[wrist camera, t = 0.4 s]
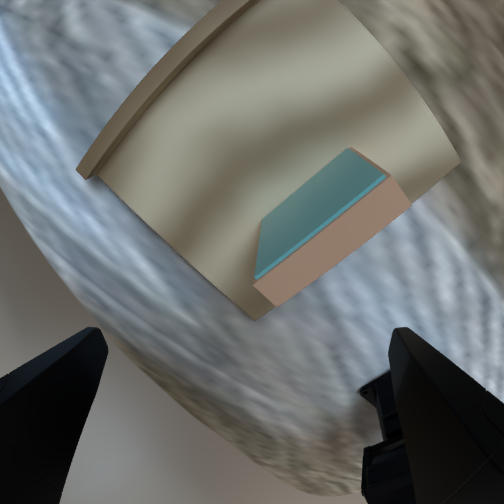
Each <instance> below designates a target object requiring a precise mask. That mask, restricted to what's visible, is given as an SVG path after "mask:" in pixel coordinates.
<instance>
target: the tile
mask: <svg viewBox="0 0 504 504" xmlns="http://www.w3.org/2000/svg"><path fill="white" fill-rule="evenodd" d="M410 206H412V204H411V203H410V201H409V200H408V198H407V197H406V195H405V194H404V192H403V191H402V189H401V188H400V186H399V185H398V184H397V182H396V181H395V179H394V178H393V176H392V175H391V174H389V173H388V172H387V171H385V170H384V169H382V168H381V167H380V166H378V165H377V164H375V163H374V162H373V161H371V160H370V159H368V158H367V157H365V156H364V155H362V154H361V153H360V152H358V151H357V150H355V149H354V148H352V147H350V148H346V149H345V150H344V151H343V152H342V153H340V154H339V155H338V156H337V157H336V158H334V159H333V160H332V161H331V162H330V163H328V164H327V165H326V166H325V167H324V168H322V169H321V170H320V171H319V172H318V173H316V174H315V175H314V176H313V177H312V178H310V179H309V180H308V181H307V182H306V183H304V184H303V185H302V186H301V187H300V188H298V189H297V190H296V191H295V192H294V193H293V194H291V195H290V196H289V197H288V198H287V199H285V200H284V201H283V202H282V203H281V204H280V205H278V206H277V207H276V208H275V209H274V210H272V211H271V212H270V213H269V214H268V215H267V216H265V217H264V218H263V219H262V222H261V228H260V236H259V243H258V250H257V258H256V265H255V272H254V279H253V286H254V287H255V288H256V289H257V290H259V291H260V292H261V293H262V294H263V295H264V296H265V297H266V298H267V299H268V300H269V301H271V302H272V303H273V304H274V305H275V306H276V307H278V306H280V305H281V304H282V303H284V302H285V301H287V300H288V299H289V298H291V297H292V296H294V295H295V294H296V293H298V292H299V291H301V290H302V289H303V288H305V287H306V286H308V285H309V284H310V283H312V282H313V281H314V280H316V279H317V278H319V277H320V276H321V275H323V274H324V273H325V272H327V271H328V270H329V269H331V268H332V267H333V266H335V265H336V264H338V263H339V262H340V261H342V260H343V259H344V258H345V257H347V256H348V255H349V254H351V253H352V252H353V251H355V250H356V249H357V248H359V247H360V246H361V245H363V244H364V243H365V242H366V241H368V240H369V239H370V238H372V237H373V236H374V235H375V234H377V233H378V232H379V231H381V230H382V229H383V228H384V227H386V226H387V225H388V224H389V223H391V222H392V221H393V220H394V219H396V218H397V217H398V216H399V215H401V214H402V213H403V212H404V211H406V210H407V209H408V208H409V207H410Z"/></svg>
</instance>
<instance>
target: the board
mask: <svg viewBox="0 0 504 504" xmlns="http://www.w3.org/2000/svg"><path fill="white" fill-rule="evenodd" d="M350 147H352V148H354V149H355V150H357V151H358V152H360V153H361V154H362V155H364V156H365V157H367V158H368V159H370V160H371V161H373V162H374V163H375V164H377V165H378V166H380V167H381V168H382V169H384V170H385V171H387V172H388V173H389V174H391V175H392V176H393V178H394V179H395V181H396V182H397V184H398V185H399V186H400V188H401V189H402V191H403V192H404V194H405V195H406V197H407V198H408V200H409V201H410V203H411V204H412V203H413V202H414V201H415V200H417V199H418V198H419V197H420V196H422V195H423V194H424V193H425V192H426V191H428V190H429V189H430V188H431V187H432V186H433V185H435V184H436V183H437V182H438V181H439V180H441V179H442V178H443V177H444V176H445V175H446V174H448V173H449V172H450V171H451V170H452V169H453V168H454V167H456V166H457V165H458V164H459V163H460V162H461V160H460V158H459V157H458V155H457V153H456V151H455V150H454V148H453V146H452V144H451V143H450V141H449V139H448V138H447V136H446V134H445V133H444V131H443V129H442V128H441V126H440V125H439V123H438V121H437V120H436V118H435V117H434V115H433V114H432V112H431V111H430V109H429V108H428V106H427V105H426V103H425V102H424V100H423V99H422V98H421V96H420V95H419V93H418V92H417V90H416V89H415V88H414V86H413V85H412V84H411V82H410V81H409V80H408V78H407V77H406V76H405V74H404V73H403V72H402V70H401V69H400V68H399V67H398V65H397V64H396V63H395V62H394V60H393V59H392V58H391V57H390V56H389V54H388V53H387V52H386V51H385V50H384V48H383V47H382V46H381V45H380V44H379V43H378V41H377V40H376V39H375V38H374V37H373V36H372V35H371V34H370V32H369V31H368V30H367V29H366V28H365V27H364V26H363V25H362V24H361V23H360V22H359V21H358V20H357V19H356V18H355V17H354V16H353V15H352V14H351V13H350V12H349V11H348V10H347V9H346V8H345V7H344V6H343V5H342V4H341V3H340V2H339V1H338V0H222V1H221V2H220V3H219V4H218V5H216V6H215V7H214V8H213V9H212V10H211V11H210V12H208V13H207V14H206V15H205V16H204V17H203V18H202V19H201V20H200V21H199V22H197V23H196V24H195V25H194V26H193V27H192V28H191V29H190V30H189V31H188V32H187V33H186V34H185V35H184V36H183V37H182V38H181V39H180V40H179V41H178V42H177V43H176V44H175V45H174V46H173V47H172V48H171V49H170V50H169V51H168V52H167V53H166V54H165V55H164V56H163V57H162V58H161V59H160V60H159V62H158V63H157V64H156V65H155V66H154V67H153V68H152V69H151V70H150V71H149V73H148V74H147V75H146V76H145V77H144V78H143V79H142V81H141V82H140V83H139V84H138V85H137V86H136V88H135V89H134V90H133V91H132V92H131V94H130V95H129V96H128V97H127V99H126V100H125V101H124V102H123V104H122V105H121V106H120V107H119V109H118V110H117V111H116V112H115V114H114V115H113V116H112V118H111V119H110V120H109V122H108V123H107V124H106V126H105V127H104V128H103V130H102V131H101V133H100V134H99V135H98V137H97V138H96V140H95V141H94V142H93V144H92V145H91V147H90V148H89V150H88V151H87V153H86V154H85V156H84V157H83V159H82V160H81V162H80V163H79V165H78V166H77V168H76V169H75V170H76V171H77V172H78V173H79V174H80V175H81V176H82V177H83V178H84V179H85V180H86V179H88V178H90V177H92V176H94V175H96V174H97V175H98V176H99V177H100V178H101V179H102V180H103V181H104V182H105V183H106V184H107V185H108V186H109V187H110V188H111V189H112V190H113V191H114V192H115V193H116V194H117V195H118V196H119V197H120V198H121V199H122V200H123V201H124V202H125V203H126V204H127V205H128V206H129V207H130V208H131V209H132V210H133V211H134V212H135V213H136V214H137V215H138V216H140V217H141V218H142V219H143V220H144V221H145V222H146V223H147V224H148V225H149V226H150V227H151V228H152V229H153V230H154V231H155V232H156V233H157V234H159V235H160V236H161V237H162V238H163V239H164V240H165V241H166V242H167V243H168V244H169V245H170V246H171V247H172V248H174V249H175V250H176V251H177V252H178V253H179V254H180V255H181V256H182V257H183V258H184V259H186V260H187V261H188V262H189V263H190V264H191V265H192V266H193V267H194V268H195V269H197V270H198V271H199V272H200V273H201V274H202V275H203V276H204V277H205V278H207V279H208V280H209V281H210V282H211V283H212V284H213V285H214V286H216V287H217V288H218V289H219V290H220V291H221V292H222V293H223V294H225V295H226V296H227V297H228V298H229V299H230V300H231V301H233V302H234V303H235V304H236V305H237V306H238V307H240V308H241V309H242V310H243V311H244V312H245V313H246V314H248V315H249V316H250V317H251V318H252V319H253V320H255V321H256V320H257V319H259V318H260V317H261V316H263V315H264V314H266V313H267V312H269V311H270V310H272V309H273V308H274V307H276V306H275V305H274V304H273V303H272V302H271V301H269V300H268V299H267V298H266V297H265V296H264V295H263V294H262V293H261V292H260V291H259V290H257V289H256V288H255V287H254V286H253V279H254V272H255V265H256V258H257V250H258V243H259V236H260V228H261V222H262V219H263V218H264V217H265V216H267V215H268V214H269V213H270V212H271V211H272V210H274V209H275V208H276V207H277V206H278V205H280V204H281V203H282V202H283V201H284V200H285V199H287V198H288V197H289V196H290V195H291V194H293V193H294V192H295V191H296V190H297V189H298V188H300V187H301V186H302V185H303V184H304V183H306V182H307V181H308V180H309V179H310V178H312V177H313V176H314V175H315V174H316V173H318V172H319V171H320V170H321V169H322V168H324V167H325V166H326V165H327V164H328V163H330V162H331V161H332V160H333V159H334V158H336V157H337V156H338V155H339V154H340V153H342V152H343V151H344V150H345V149H346V148H350Z"/></svg>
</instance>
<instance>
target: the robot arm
mask: <svg viewBox="0 0 504 504" xmlns="http://www.w3.org/2000/svg"><path fill="white" fill-rule="evenodd" d="M107 355H108V346H107V344H106V341H105V339H104V336H103V334H102V332H101V330H100V329H99V328H97V327H87V328H85V329H83V330H82V331H80V332H78V333H76V334H75V335H73V336H71V337H70V338H68V339H66V340H65V341H63V342H61V343H59V344H57V345H56V346H54V347H52V348H51V349H49V350H47V351H46V352H44V353H42V354H40V355H39V356H37V357H35V358H34V359H32V360H30V361H29V362H27V363H25V364H24V365H22V366H20V367H18V368H17V369H15V370H13V371H12V372H10V373H9V374H7V375H5V376H4V377H1V378H0V504H59V502H60V499H61V495H62V492H63V488H64V484H65V482H66V478H67V475H68V472H69V468H70V466H71V462H72V459H73V456H74V453H75V450H76V447H77V445H78V442H79V439H80V436H81V433H82V430H83V428H84V425H85V422H86V419H87V417H88V414H89V411H90V409H91V406H92V403H93V401H94V398H95V395H96V393H97V390H98V386H99V383H100V379H101V376H102V372H103V369H104V366H105V362H106V359H107ZM388 357H389V363H390V369H391V371H390V372H389V373H387V374H385V375H384V376H382V377H380V378H379V379H377V380H375V381H373V382H371V383H370V384H368V385H366V386H364V387H363V388H361V389H360V395H361V396H362V397H364V398H365V399H366V400H367V401H369V402H370V403H371V404H372V405H374V406H375V407H376V409H377V413H378V418H379V422H380V427H381V432H382V437H383V442H380V443H378V444H375V445H373V446H368V447H365V448H364V456H363V465H362V483H361V489H362V491H361V493H362V496H364V497H365V499H366V501H367V503H368V504H504V403H503V402H501V401H500V400H499V399H498V398H496V397H495V396H494V395H493V394H491V393H490V392H489V391H486V389H485V388H484V387H483V386H481V385H480V384H479V383H478V382H477V381H475V380H474V379H473V378H472V377H470V376H469V375H468V374H467V373H465V372H464V371H463V370H462V369H460V368H459V367H458V366H457V365H455V364H454V363H453V362H452V361H450V360H449V359H448V358H447V357H445V356H444V355H443V354H442V353H440V352H439V351H438V350H436V349H435V348H434V347H433V346H431V345H430V344H429V343H428V342H426V341H425V340H424V339H422V338H421V337H420V336H419V335H417V334H416V333H415V332H413V331H412V330H411V329H409V328H408V327H400V328H395V329H394V330H393V333H392V337H391V341H390V346H389V351H388Z"/></svg>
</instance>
